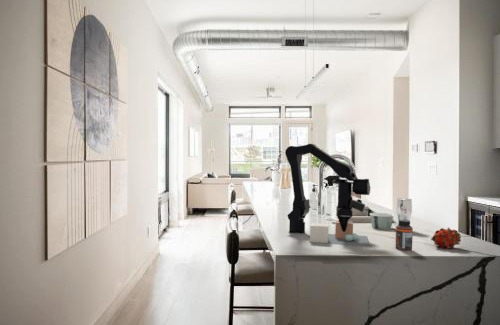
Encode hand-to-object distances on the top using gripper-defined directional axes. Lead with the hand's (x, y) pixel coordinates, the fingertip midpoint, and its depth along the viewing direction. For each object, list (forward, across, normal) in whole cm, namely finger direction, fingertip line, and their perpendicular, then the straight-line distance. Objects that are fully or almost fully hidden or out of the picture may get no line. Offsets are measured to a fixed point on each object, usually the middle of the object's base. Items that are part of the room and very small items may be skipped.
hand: (343, 229), depth 178 cm
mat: (+4, -6, +2) cm, 7 cm away
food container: (+4, +34, -19) cm, 39 cm away
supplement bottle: (+4, -17, -22) cm, 28 cm away
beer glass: (+4, +30, -29) cm, 42 cm away
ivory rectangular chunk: (+3, -11, +10) cm, 15 cm away
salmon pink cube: (+3, 0, 0) cm, 3 cm away
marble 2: (+3, -7, -4) cm, 9 cm away
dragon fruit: (+4, -8, -39) cm, 40 cm away
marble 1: (+3, -9, -2) cm, 10 cm away
